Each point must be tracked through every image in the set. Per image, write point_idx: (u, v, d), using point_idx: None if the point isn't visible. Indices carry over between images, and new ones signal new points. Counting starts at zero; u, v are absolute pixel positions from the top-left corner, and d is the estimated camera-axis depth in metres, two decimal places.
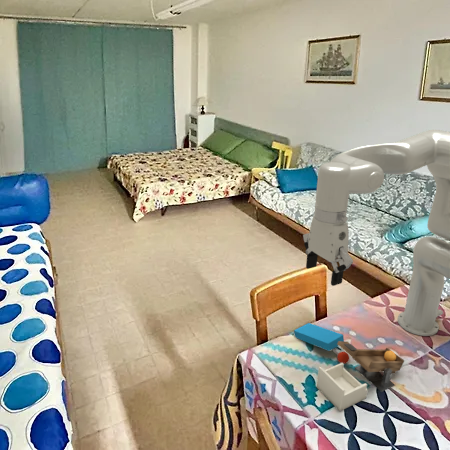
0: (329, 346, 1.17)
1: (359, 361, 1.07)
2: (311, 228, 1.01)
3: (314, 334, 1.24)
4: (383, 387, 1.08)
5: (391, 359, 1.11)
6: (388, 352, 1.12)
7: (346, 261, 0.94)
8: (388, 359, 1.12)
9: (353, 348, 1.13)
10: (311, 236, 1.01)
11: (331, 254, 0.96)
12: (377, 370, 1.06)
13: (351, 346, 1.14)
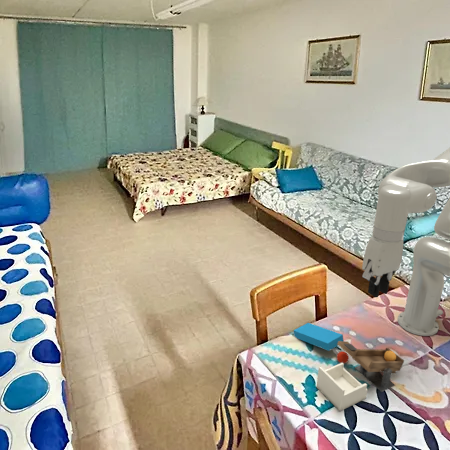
0: (328, 346, 1.17)
1: (359, 361, 1.07)
2: (381, 255, 1.02)
3: (314, 334, 1.24)
4: (383, 387, 1.08)
5: (391, 359, 1.11)
6: (388, 352, 1.12)
7: None
8: (388, 359, 1.12)
9: (353, 348, 1.13)
10: (381, 262, 1.03)
11: (400, 262, 1.07)
12: (377, 370, 1.06)
13: (351, 346, 1.14)
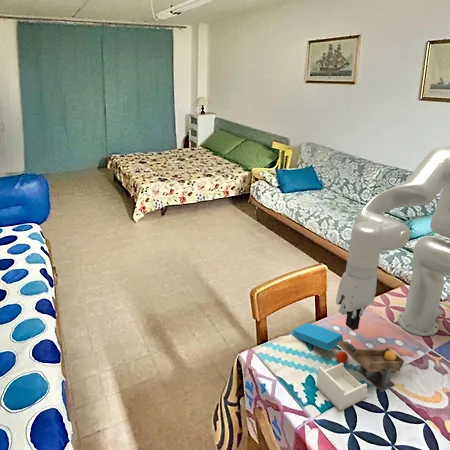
0: (328, 346, 1.17)
1: (359, 361, 1.07)
2: (354, 292, 1.02)
3: (313, 334, 1.24)
4: (383, 387, 1.08)
5: (391, 359, 1.11)
6: (388, 352, 1.12)
7: None
8: (388, 359, 1.12)
9: (353, 348, 1.13)
10: (354, 298, 1.03)
11: (373, 297, 1.07)
12: (377, 370, 1.06)
13: (351, 346, 1.14)
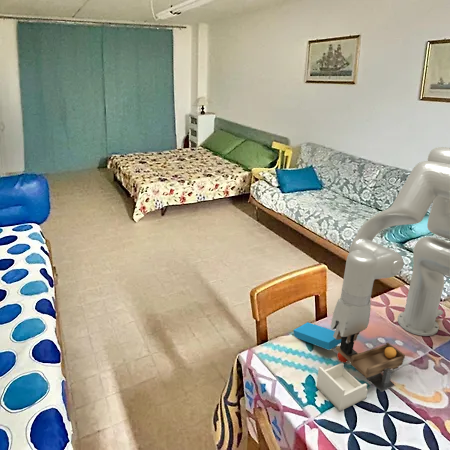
0: (329, 345, 1.18)
1: (357, 367, 1.08)
2: (348, 318, 1.05)
3: (314, 333, 1.24)
4: (383, 387, 1.08)
5: (391, 356, 1.11)
6: (387, 349, 1.12)
7: None
8: (388, 356, 1.11)
9: None
10: (348, 324, 1.06)
11: (367, 322, 1.10)
12: (376, 373, 1.07)
13: None
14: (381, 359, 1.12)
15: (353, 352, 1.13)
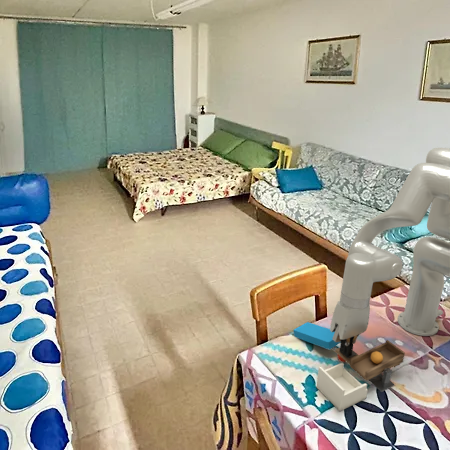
0: (329, 345, 1.18)
1: (356, 370, 1.08)
2: (347, 321, 1.05)
3: (314, 333, 1.24)
4: (383, 387, 1.08)
5: (382, 358, 1.09)
6: None
7: None
8: None
9: None
10: (347, 327, 1.06)
11: (367, 325, 1.10)
12: (376, 374, 1.07)
13: None
14: None
15: (352, 354, 1.13)
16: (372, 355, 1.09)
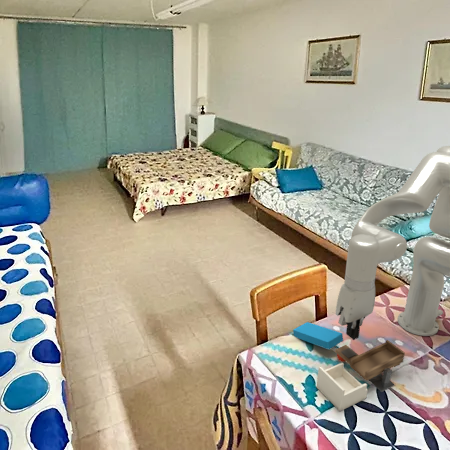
0: (328, 345, 1.18)
1: (356, 370, 1.08)
2: (352, 304, 1.03)
3: (313, 333, 1.24)
4: (383, 387, 1.08)
5: None
6: None
7: None
8: None
9: (351, 354, 1.13)
10: (353, 310, 1.04)
11: (373, 307, 1.08)
12: (376, 374, 1.07)
13: (349, 351, 1.14)
14: (381, 358, 1.11)
15: (352, 354, 1.13)
16: None
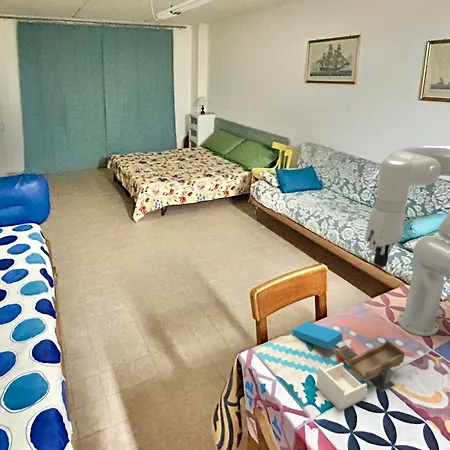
0: (328, 345, 1.18)
1: (356, 370, 1.08)
2: (383, 226, 1.04)
3: (313, 333, 1.24)
4: (383, 387, 1.08)
5: None
6: None
7: None
8: None
9: (351, 354, 1.13)
10: (384, 233, 1.05)
11: (402, 233, 1.09)
12: (376, 374, 1.07)
13: (349, 351, 1.14)
14: (381, 358, 1.11)
15: (352, 354, 1.13)
16: None
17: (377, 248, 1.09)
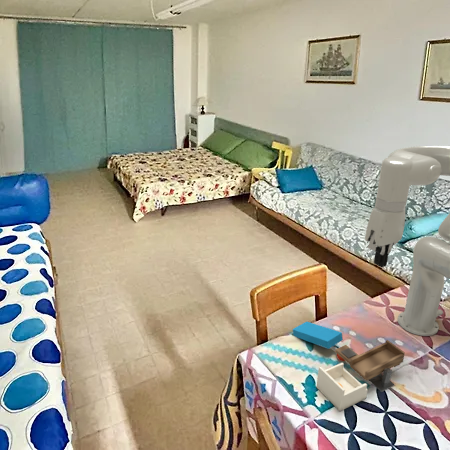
0: (328, 344, 1.18)
1: (356, 370, 1.08)
2: (383, 226, 1.05)
3: (313, 332, 1.25)
4: (383, 387, 1.08)
5: None
6: None
7: None
8: None
9: (351, 354, 1.13)
10: (384, 233, 1.05)
11: (402, 233, 1.09)
12: (376, 374, 1.07)
13: (349, 351, 1.14)
14: (381, 358, 1.11)
15: (352, 354, 1.13)
16: None
17: (377, 248, 1.09)
